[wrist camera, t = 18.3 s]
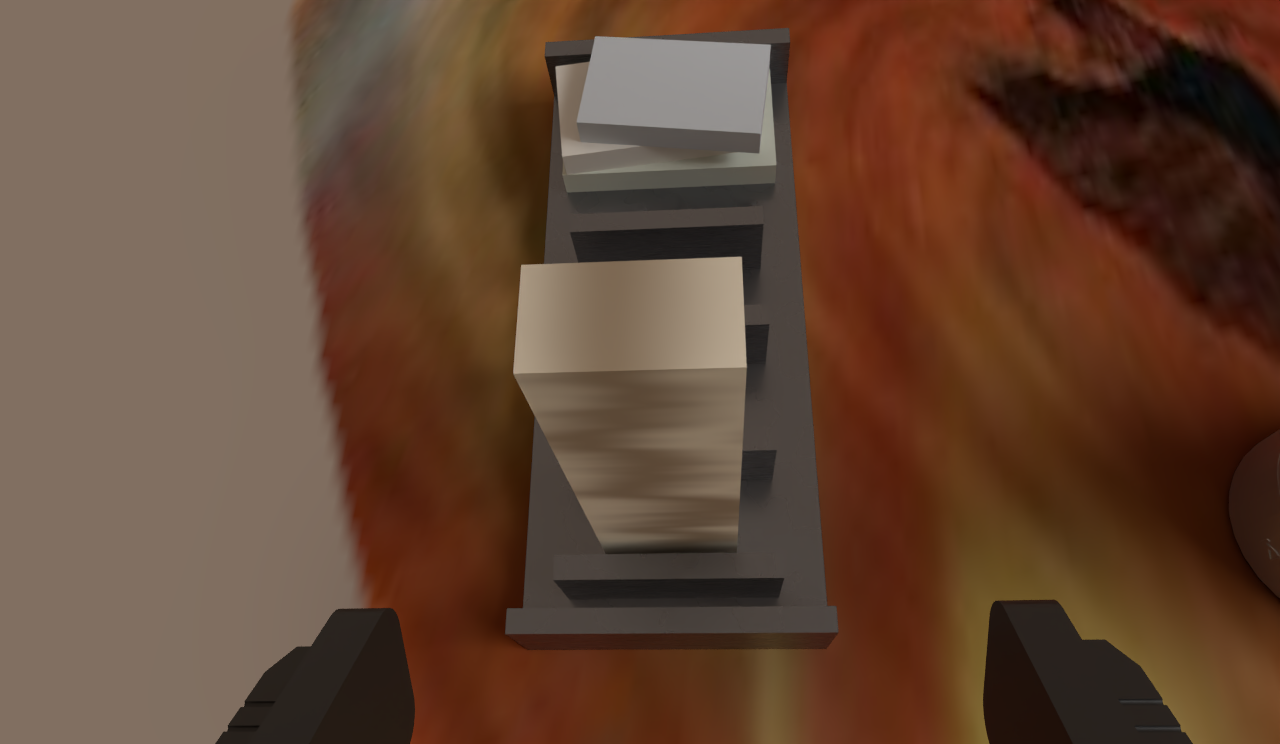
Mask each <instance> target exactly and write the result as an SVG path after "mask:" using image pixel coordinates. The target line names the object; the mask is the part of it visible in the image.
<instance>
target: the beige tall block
mask: <svg viewBox="0 0 1280 744" xmlns="http://www.w3.org/2000/svg"><path fill="white" fill-rule="evenodd" d="M746 371H747V363H746V340H745V317H744V295H743V272H742V257H721V258H694V259H667V260H640V261H613V262H586V263H559V264H532V265H521V276H520V289H519V303H518V316H517V329H516V342H515V356H514V369H513V374H514V376H515V378H516V380H517V382H518V384H519V386H520V388H521V390H522V392H523V394H524V396H525V398H526V400H527V402H528V404H529V406H530V407H531V409H532V411H533V413H534V415H535V417H536V419H537V421H538V423H539V425H540V427H541V429H542V431H543V433H544V435H545V437H546V439H547V441H548V443H549V445H550V446H551V448H552V450H553V452H554V454H555V456H556V458H557V460H558V462H559V464H560V466H561V468H562V470H563V472H564V474H565V476H566V478H567V480H568V482H569V483H570V485H571V487H572V489H573V491H574V493H575V495H576V497H577V499H578V501H579V503H580V505H581V507H582V509H583V511H584V513H585V515H586V517H587V519H588V520H589V522H590V524H591V526H592V528H593V530H594V532H595V534H596V536H597V538H598V540H599V542H600V544H601V546H602V548H603V550H604V552H605V554H660V553H737V542H738V523H739V504H740V485H741V466H742V447H743V428H744V409H745V390H746Z"/></svg>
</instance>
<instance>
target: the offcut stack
mask: <svg viewBox="0 0 1280 744" xmlns="http://www.w3.org/2000/svg"><path fill="white" fill-rule="evenodd" d="M770 49H771V45H766V44H745V43H738V42H737V43H736V42H734V43H724V42H703V41H682V40H661V39H640V38H619V37H598V36H595V40H594V45H593V49H592V54H591V58H590V62H584V63H577V64H570V65H563V66H555V67H556V80H557V93H558V107H559V120H560V134H561V147H562V158H563V173H562V176H563V179H564V183H565V187H566V191H567V192H589V191H611V190H633V189H655V188H677V187H700V186H722V185H744V184H766V183H775V177H776V151H775V137H774V122H773V107H772V93H771V78H770V69H769V65H770Z"/></svg>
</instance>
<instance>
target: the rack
mask: <svg viewBox="0 0 1280 744" xmlns="http://www.w3.org/2000/svg"><path fill="white" fill-rule="evenodd" d="M629 38H640V39H661V40H682V41H703V42H724V43H734V42H736V43H737V42H738V43H745V44H766V45H771V49H770V65H769V69H770V78H771V93H772V107H773V122H774V137H775V151H776V177H775V183H766V184H744V185H722V186H700V187H677V188H655V189H633V190H611V191H589V192H567V191H566V187H565V183H564V179H563V176H562V173H563V158H562V147H561V134H560V120H559V107H558V93H557V80H556V67H555V66H563V65H570V64H577V63H584V62H590V58H591V54H592V49H593V45H594V40H578V41H561V42H546V46H545V60H546V64H547V68H548V72H549V76H550V80H551V84H552V88H553V92H554V110H553V126H552V142H551V159H550V175H549V191H548V208H547V224H546V240H545V257H544V264H559V263H586V262H613V261H640V260H667V259H694V258H721V257H742V272H743V295H744V317H745V340H746V363H747V371H746V390H745V409H744V428H743V447H742V466H741V485H740V504H739V523H738V542H737V553H660V554H605V552H604V550H603V548H602V546H601V544H600V542H599V540H598V538H597V536H596V534H595V532H594V530H593V528H592V526H591V524H590V522H589V520H588V519H587V517H586V515H585V513H584V511H583V509H582V507H581V505H580V503H579V501H578V499H577V497H576V495H575V493H574V491H573V489H572V487H571V485H570V483H569V482H568V480H567V478H566V476H565V474H564V472H563V470H562V468H561V466H560V464H559V462H558V460H557V458H556V456H555V454H554V452H553V450H552V448H551V446H550V445H549V443H548V441H547V439H546V437H545V435H544V433H543V431H542V429H541V427H540V425H539V423H538V421H537V419H536V417H535V420H534V436H533V453H532V469H531V485H530V502H529V518H528V534H527V551H526V567H525V583H524V600H523V608H507V614H506V629H505V634H506V635H507V636H509V637H510V638H511V639H513V640H514V641H516V642H517V643H519V644H520V645H522V646H523V647H525V648H526V649H527V650H587V649H827V647H828V646H829V644H830V643H831V642H832V640H833V639H834V638H835V636H836V635H837V634H838V621H837V609H836V606H827V597H826V584H825V571H824V558H823V546H822V533H821V520H820V507H819V494H818V481H817V469H816V456H815V443H814V430H813V417H812V404H811V392H810V379H809V366H808V353H807V340H806V327H805V315H804V302H803V289H802V276H801V263H800V250H799V237H798V225H797V212H796V199H795V186H794V173H793V160H792V148H791V135H790V122H789V109H788V96H787V71H788V60H789V49H790V36H789V28H782V29H765V30H748V31H731V32H714V33H697V34H680V35H663V36H646V37H629Z"/></svg>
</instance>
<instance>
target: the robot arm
mask: <svg viewBox="0 0 1280 744" xmlns="http://www.w3.org/2000/svg"><path fill="white" fill-rule="evenodd" d="M1229 516H1230V520H1231V524H1232V529H1233V533H1234V536H1235V538H1236V541H1237V543H1238V545H1239V547H1240V549H1241V551H1242V554H1243V556H1244V558H1245V559H1246V560H1247V562H1248V563H1249V565H1250V566H1251V568H1252V569H1253V570H1254V572H1255V573H1256V575H1257V576H1258V578H1259V579H1260V580H1261V581H1262V582H1263V583H1264V584H1265V585H1266V586H1267V587H1268V588H1269V589H1270V590H1271V591H1272V592H1273V593H1274V594H1275V595H1276V596H1277V597H1278V598H1280V429H1279V430H1278V431H1276V432H1275V433H1273V434H1272V435H1270V436H1269V437H1267V438H1265V439H1264V440H1262V441H1261V442H1259V443H1258V444H1256V445H1255V446H1254V447H1253V448H1252V449H1251V450H1250V451H1249V452H1248V453H1247V454H1246V455H1245V456H1244V457H1243V459H1242V461H1241V462H1240V464H1239V466H1238V467H1237V469H1236V471H1235V472H1234V475H1233V479H1232V483H1231V487H1230V490H1229ZM983 707H984V719H985V726H986V731H987V735H988V740H989V743H990V744H1193V743H1192V742H1191V740H1190V739H1189V737H1188V736H1187V734H1186V733H1185V732H1181V728H1180V724H1179V723H1178V721H1177V720H1176V718H1175V717H1174V715H1173V714H1172V712H1171V711H1170V709H1169V708H1168V706H1167V705H1163V702H1162V697H1161V696H1160V694H1159V693H1158V692H1157V690H1156V689H1155V687H1154V686H1153V684H1152V683H1151V681H1150V680H1149V678H1148V677H1147V675H1146V674H1145V672H1144V671H1143V669H1142V668H1141V667H1140V666H1139V665H1138V664H1136V663H1135V662H1134V661H1132V660H1131V659H1130V658H1129V657H1127V656H1126V655H1125V654H1123V653H1122V652H1121V651H1119V650H1118V649H1117V648H1115V647H1114V646H1113V645H1111V644H1110V643H1109V642H1107V641H1106V640H1082V639H1081V637H1080V636H1079V634H1078V632H1077V631H1076V629H1075V627H1074V626H1073V624H1072V623H1071V621H1070V619H1069V618H1068V616H1067V614H1066V613H1065V611H1064V609H1063V608H1062V606H1061V605H1060V604H1059V603H1058V602H1057V601H1056V600H1013V601H995V602H994V603H993V604H992V607H991V611H990V619H989V631H988V644H987V656H986V669H985V681H984V694H983ZM414 717H415V704H414V695H413V690H412V685H411V680H410V674H409V669H408V664H407V659H406V654H405V649H404V644H403V639H402V634H401V628H400V623H399V619H398V616H397V614H396V612H395V611H394V610H393V609H391V608H368V609H338V610H336V611H335V612H334V613H333V614H332V615H331V616H330V618H329V619H328V621H327V623H326V624H325V626H324V627H323V629H322V630H321V632H320V634H319V635H318V637H317V638H316V640H315V641H314V643H313V644H312V646H311V647H296V648H295V649H293V650H292V651H291V652H290V653H288V654H287V655H286V656H285V657H283V658H282V659H281V660H280V661H278V662H277V663H276V664H275V665H273V666H272V667H271V668H269V669H268V670H267V671H266V672H265V673H264V674H263V676H262V677H261V679H260V680H259V681H258V683H257V684H256V686H255V687H254V689H253V690H252V692H251V693H250V694H249V696H248V697H247V699H246V700H245V706H244V707H241V708H240V709H239V711H238V712H237V713H236V715H235V716H234V718H233V719H232V720H231V722H230V723H229V725H228V731H227V732H223V733H222V735H221V736H220V738H219V739H218V741H217V742H216V744H410V741H411V737H412V733H413V727H414Z"/></svg>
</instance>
